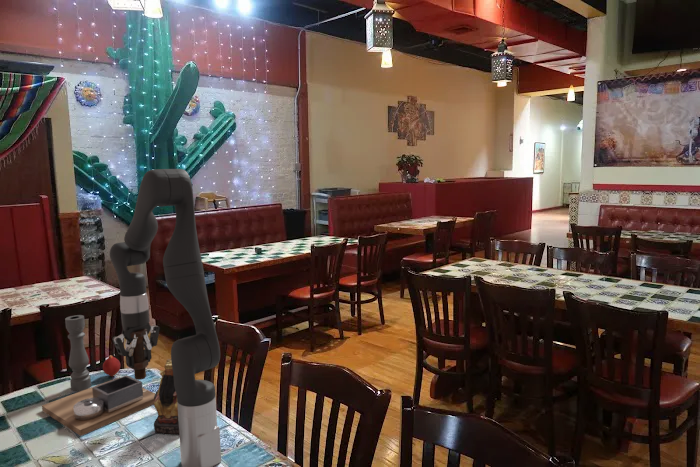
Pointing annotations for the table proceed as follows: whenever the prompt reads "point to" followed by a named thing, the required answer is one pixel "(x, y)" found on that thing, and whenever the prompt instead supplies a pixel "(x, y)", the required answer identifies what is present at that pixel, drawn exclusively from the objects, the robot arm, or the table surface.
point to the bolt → (139, 355)
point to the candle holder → (78, 354)
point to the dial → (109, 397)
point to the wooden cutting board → (65, 415)
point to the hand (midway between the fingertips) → (139, 364)
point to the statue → (166, 404)
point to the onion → (111, 366)
